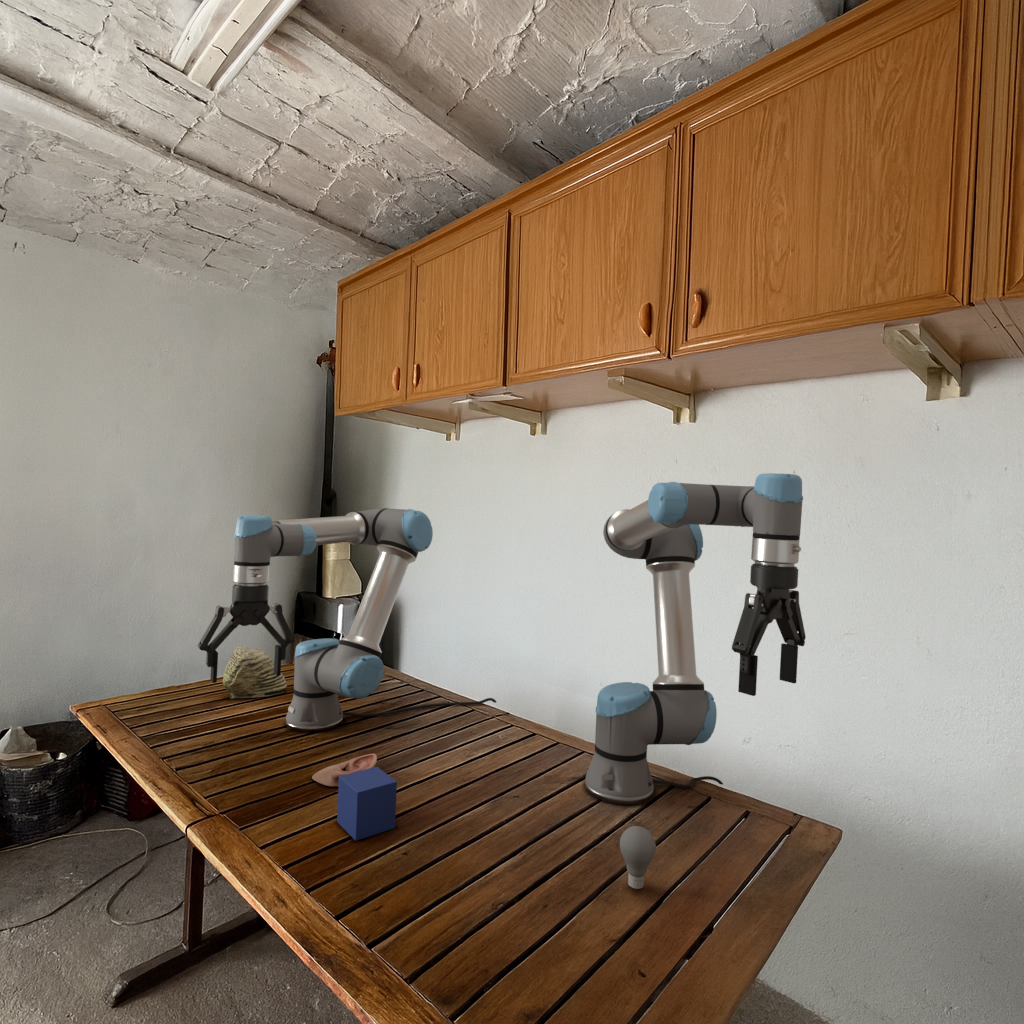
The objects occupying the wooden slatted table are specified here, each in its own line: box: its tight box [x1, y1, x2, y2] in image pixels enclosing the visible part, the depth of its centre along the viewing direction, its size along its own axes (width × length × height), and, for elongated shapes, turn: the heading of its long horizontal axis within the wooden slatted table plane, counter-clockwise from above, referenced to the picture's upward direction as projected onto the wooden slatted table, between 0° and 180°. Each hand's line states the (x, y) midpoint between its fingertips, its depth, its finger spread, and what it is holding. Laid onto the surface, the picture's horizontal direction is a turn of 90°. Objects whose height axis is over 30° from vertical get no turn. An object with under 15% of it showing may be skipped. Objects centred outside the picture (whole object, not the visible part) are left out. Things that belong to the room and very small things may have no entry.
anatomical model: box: [311, 753, 378, 788], centre depth 144 cm, size 13×4×12 cm
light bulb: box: [619, 825, 657, 890], centre depth 107 cm, size 6×6×10 cm
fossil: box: [222, 646, 288, 699], centre depth 198 cm, size 9×18×15 cm, turn 132°
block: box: [336, 766, 398, 842], centre depth 123 cm, size 8×8×9 cm
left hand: (246, 677), depth 143 cm, fingers open, 13 cm apart
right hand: (768, 687), depth 109 cm, fingers open, 13 cm apart
